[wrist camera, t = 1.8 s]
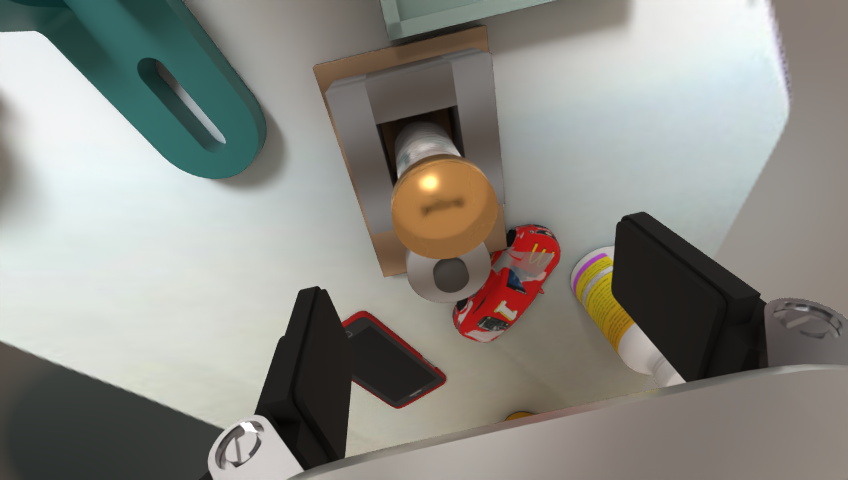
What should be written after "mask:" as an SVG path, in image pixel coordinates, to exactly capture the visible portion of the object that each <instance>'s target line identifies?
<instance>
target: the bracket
mask: <svg viewBox="0 0 848 480" xmlns="http://www.w3.org/2000/svg"><path fill="white" fill-rule="evenodd" d="M15 31H37V32H39V33H41V34H43V35H44V36H45V37H47V38H48V39H49V40H50V41H51V42H52V43H53V44H54V45H55V47H56V48H57V49H58V50H59V51H60V52H61V53H62V54H63V55H64V56H65V57H66V58H67V59H68V60H69V61H70V62H71V63H72V64H73V65H74V66H75V67H76V68H77V69H78V70H79V71H80V72H81V73H82V74H83V75H84V76H85V77H86V78H87V79H88V80H89V81H90V82H91V83H92V84H93V85H94V86H95V87H96V88H97V89H98V90H99V91H100V92H101V94H102V95H103V96H104V97H105V98H106V99H107V100H108V101H109V102H110V103H111V104H112V105H113V106H114V107H115V108H116V109H117V110H118V111H119V112H120V113H121V114H122V115H123V116H124V117H125V118H126V119H127V120H128V121H129V122H130V123H131V124H132V125H133V126H134V127H135V128H136V129H137V130H138V131H139V132H140V133H141V134H142V135H143V136H144V137H145V138H146V139H147V140H148V142H149V143H150V144H151V145H152V146H153V147H154V148H155V149H156V150H157V151H158V152H159V153H160V154H161V155H162V156H163V157H164V158H165V159H167V160H168V161H169V162H170V163H172V164H173V165H175V166H176V167H178V168H179V169H181V170H183V171H185V172H187V173H190V174H192V175H195V176H199V177H203V178H210V179H221V178H227V177H231V176H234V175H236V174H238V173H240V172H242V171H243V170H244V169H245V168H246V167H247V166H248V165H249V164H250V163H251V162H252V161H253V160H254V159H255V157H256V156H257V155H258V154H259V153H260V151H261V149H262V148H263V145H264V142H265V138H266V123H265V118H264V115H263V112H262V110H261V107H260V105H259V104H258V102H257V100H256V99H255V97H254V96H253V95H252V93H251V92H250V91H249V89H248V88H247V87H246V85H245V84H244V83H243V81H242V80H241V79H240V77H239V76H238V75H237V73H236V72H235V71H234V69H233V68H232V67H231V65H230V64H229V63H228V61H227V60H226V59H225V57H224V56H223V55H222V53H221V52H220V51H219V49H218V48H217V47H216V45H215V44H214V43H213V41H212V40H211V39H210V37H209V36H208V35H207V33H206V32H205V31H204V29H203V28H202V27H201V25H200V24H199V23H198V21H197V20H196V19H195V17H194V16H193V15H192V13H191V12H190V11H189V9H188V8H187V7H186V5H185V4H184V3H183V1H182V0H0V32H15ZM156 60H158V61H160V62H161V63H162V64H163V65H164V66H165V67H166V68H167V69H168V71H169V72H170V73H171V74H172V75H173V76H174V78H175V79H176V80H177V81H178V82H179V84H180V85H181V86H182V87H183V88H184V89H185V91H186V92H187V93H188V94H189V95H190V97H191V98H192V99H193V100H194V101H195V102H196V104H197V105H198V106H199V107H200V108H201V109H202V111H203V112H204V113H205V114H206V115H207V117H208V118H209V119H210V120H211V121H212V122H213V124H214V125H215V126H216V127H217V128H218V130H219V131H220V132H221V133H222V134H223V136H224V137H225V140H226V144H224V143H220V142H218V141H217V140H216V139H215V138H214V137H213V136H212V135H211V134H210V133H209V131H208V130H207V129H206V128H205V127H204V126H203V125H202V123H201V122H200V121H199V120H198V119H197V118H196V116H195V115H194V114H193V113H192V112H191V111H190V110H189V108H188V107H187V106H186V105H185V104H184V103H183V101H182V100H181V99H180V98H179V97H178V96H177V95H176V93H175V92H174V91H173V90H172V89H171V88H170V86H169V85H168V84H167V83H166V82H165V81H164V80H163V78H162V77H161V76H160V75H159V73H158V72H157V69H156Z"/></svg>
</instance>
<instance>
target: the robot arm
mask: <svg viewBox="0 0 848 480" xmlns="http://www.w3.org/2000/svg"><path fill="white" fill-rule="evenodd" d="M611 292H612V295H613V297H614V298H615V300H616V301H617V302H618V303H619V304H620V306H621V307H622V308H623V309H624V310H625V311H626V313H627V314H628V315H629V316H630V317H631V318H632V320H633V321H634V322H635V323H636V324H637V326H638V327H639V328H640V329H641V330H642V331H643V333H644V334H645V335H646V336H647V337H648V338H649V340H650V341H651V342H652V343H653V344H654V345H655V347H656V348H657V349H658V350H659V351H660V353H661V354H662V355H663V356H664V357H665V358H666V360H667V361H668V362H669V363H670V364H671V365H672V367H673V368H674V369H675V370H676V371H677V373H678V374H679V375H680V376H681V377H682V378H683V380H684V381H685V382H686V383H682V384H677V385H672V386H667V387H663V388H658V389H653V390H649V391H644V392H639V393H634V394H630V395H625V396H620V397H616V398H611V399H606V400H601V401H597V402H592V403H587V404H583V405H578V406H574V407H569V408H564V409H560V410H555V411H550V412H546V413H541V414H537V415H532V416H528V417H523V418H518V419H514V420H509V421H505V422H500V423H495V424H491V425H486V426H482V427H477V428H473V429H468V430H464V431H460V432H455V433H451V434H446V435H442V436H437V437H433V438H428V439H424V440H419V441H415V442H410V443H406V444H401V445H397V446H393V447H389V448H385V449H381V450H376V451H372V452H368V453H364V454H360V455H356V456H352V457H347V458H345V451H346V439H347V428H348V416H349V405H350V394H351V382H352V371H353V360H354V353H353V348H352V345H351V343H350V340H349V338H348V336H347V334H346V332H345V329H344V327H343V325H342V323H341V321H340V318H339V316H338V314H337V312H336V310H335V307H334V305H333V303H332V301H331V299H330V296H329V294H328V292H327V290H326V289H323V290H321V289H320V287H318V286H315V287H311V288H307V289H302V290H300V291H299V293H298V295H297V299H296V302H295V305H294V308H293V311H292V314H291V318H290V321H289V324H288V327H287V330H286V333H285V336H282V337H281V338H280V339H279V342H278V344H277V347H276V350H275V353H274V356H273V359H272V362H271V365H270V368H269V371H268V374H267V377H266V380H265V383H264V386H263V389H262V392H261V395H260V398H259V401H258V404H257V407H256V410H255V413H254V415H251V416H247V417H244V418H242V419H239V420H238V421H236V422H235V423H233V424H232V425H230V426H229V427H228V428H227V429H226V430H225V431H224V432H223V433H222V434H221V435H220V436H219V437H218V439H217V440H216V441H215V443H214V445H213V447H212V449H211V451H210V453H209V459H208V466H209V471H208V472H207V473H206V474H205V475H204V476H203V477H202V478H200V479H199V480H848V319H846V318H845V317H844V316H843V315H842V314H840V313H838V312H837V311H835V310H833V309H831V308H830V307H827V306H824V305H822V304H819V303H817V302H813V301H809V300H804V299H798V298H779V299H775V300H772V301H770V302H769V303H768V304H767V303H766V302H764V301H763V300H762V299H760V298H759V297H760V295H761V294H760V293H759V292H757V291H756V290H755V289H753V288H752V287H750V286H749V285H748V284H746V283H745V282H743V281H742V280H741V279H739V278H738V277H736V276H735V275H734V274H732V273H731V272H729V271H728V270H726V269H725V268H724V267H722V266H721V265H719V264H718V263H717V262H715V261H714V260H712V259H711V258H710V257H708V256H707V255H705V254H704V253H703V252H701V251H700V250H698V249H697V248H695V247H694V246H693V245H691V244H690V243H688V242H687V241H686V240H684V239H683V238H681V237H680V236H679V235H677V234H676V233H674V232H673V231H671V230H670V229H669V228H667V227H666V226H664V225H663V224H662V223H660V222H659V221H657V220H656V219H655V218H653V217H652V216H650V215H649V214H647V213H646V212H639V213H635V214H630V215H626V216H624V217H622V219H621V221H620V222H618V223H617V226H616V237H615V248H614V259H613V270H612V281H611Z"/></svg>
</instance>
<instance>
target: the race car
mask: <svg viewBox="0 0 848 480" xmlns="http://www.w3.org/2000/svg"><path fill="white" fill-rule="evenodd" d="M515 230H516V231H515ZM515 230H510V231H509V233H508V234H507V236H506V242H507V249H503V250H499V251H495V252H494V253H493V254H492V256H491V257H490V259H491V270H490V274H489V277H488V279H487V280H486V282H485V283H484V285H483V286H482V287H481V288H480V289H479V290H478V291H477V292H475V293H474V294H473V295H471V296H469V297H467V298H465V299H462V300H459V301H458V302H457V306H456V305H455V308H454V310H453V321H454V325H455V327H456V329H458V331H459V333H460V334H462V335H463V336H464V337H467V338H469V339H472V340H475V341H479V342H483V343H485V342H489V341H492V340H494V339H495V338H497V337H498V336H499V335H500V334H501V333H503V332H504V331H505V330H506V329H508V328H509V327H510V326H511V325H512V324H513V323H514V322H515V321H516V320H517V319H518V318H519V317H520V316H521V315H522V313H523V312H524V311H525V310H526V309H527V307H528V306H529V305H530V304H531V302H532V301H533V300H534V298H535V297H536V295H537V293H538V292H540V293H542V294H544V292H543V290H542V289H541V286H542V284H543V283H544V281H545V280H546V278H547V277H548V276H549V274H550V273H551V271H552V270H553V269H554V267H555V266H556V265H557V264H558V262H559V259H560V247H559V244H558V242H557V240H556V237H555V235H554V234H553V233H552V232H551V231H550V230H549V229H547V228H546V227H543V226H539V225H523V226H518V227H516V228H515Z"/></svg>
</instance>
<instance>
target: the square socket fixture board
mask: <svg viewBox="0 0 848 480" xmlns="http://www.w3.org/2000/svg"><path fill="white" fill-rule="evenodd" d="M313 70H314V73H315V76H316V79H317V82H318V85H319V88H320V91H321V94H322V96H323V99H324V102H325V105H326V108H327V111H328V114H329V117H330V120H331V123H332V126H333V129H334V132H335V135H336V138H337V140H338V143H339V146H340V149H341V152H342V155H343V158H344V161H345V164H346V167H347V170H348V173H349V176H350V179H351V182H352V185H353V187H354V190H355V193H356V196H357V199H358V202H359V205H360V208H361V211H362V214H363V217H364V220H365V223H366V226H367V229H368V231H369V234H370V237H371V240H372V243H373V246H374V249H375V252H376V255H377V258H378V261H379V264H380V267H381V270H382V273H383V275H384V277H387V276H392V275H396V274H400V273H405V272H407V275H408V280H409V283H410V285H411V287H412V288H413V290H414V291H415V292H416V293H417V294H418V295H420V296H421V297H423V298H425V299H427V300H430V301H433V302H439V303H449V302H456V301H459V300H462V299H465V298H467V297H469V296H471V295H473V294H474V293H475V292H477V291H478V290H479V289H480V288H481V287H482V286H483V285H484V283H485V282H486V280H487V279H488V277H489V274H490V270H491V259H490V255H489V253H490V252H495V251H499V250H503V249H507V242H506V231H505V221H504V210H503V204H505V197H504V186H503V175H502V164H501V153H500V142H499V131H498V120H497V109H496V98H495V87H494V75H493V64H492V53H489V51H488V40H487V30H486V25H478V26H474V27H469V28H465V29H461V30H457V31H453V32H449V33H445V34H441V35H437V36H432V37H428V38H424V39H420V40H416V41H412V42H408V43H404V44H400V45H395V46H391V47H387V48H383V49H379V50H375V51H371V52H367V53H363V54H358V55H354V56H350V57H346V58H342V59H338V60H334V61H330V62H326V63H321V64H317V65H315V66H314V67H313ZM430 111H431V112H433V113H434V114H435V115H436V116H437V117H438V119H439V120H440V122H441V124H442V125H443V127H444V129H445V130H446V132H447V134H448V136H449V137H450V139H451V141H452V142H453V144H454V146H455V147H456V149H457V151H458V152H459V154H460V156H461V157H464V158H466V159H468V160H470V161H471V162H473V163H474V164H475V165H477V166H478V167H479V168H480V169H481V171H482V172H483V173H484V175H485V176H486V178H487V179H488V181H489V182H490V184H491V185H492V187H493V189H494V191H495V194H496V197H497V202H498V213H497V218H496V222H495V224H494V227H493V229H492V230H491V232H490V234H489V235H488V236H487V238H486V239H485V240H484V241H483V242H482V243H481V244H480V245H479V246H477V247H476V248H475V249H473V250H472V251H470V252H468V253H466V254H464V255H461V256H458V257H455V258H450V259H431V258H426V257H423V256H420V255H418V254H416V253H414V252H412V251H411V250H409V249H408V248H407V247H406V246H405V245H404V244H403V243H402V242H401V241H400V240H399V238H398V236H397V235H396V233H395V230H394V227H393V223H392V211H391V196H392V192H393V189H394V186H395V184H396V182H397V180H398V174H397V166H396V158H395V150H394V142H393V127H394V124H395V122H396V120H397V119H401V118H405V117H409V116H414V115H418V114H422V113H426V112H430Z"/></svg>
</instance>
